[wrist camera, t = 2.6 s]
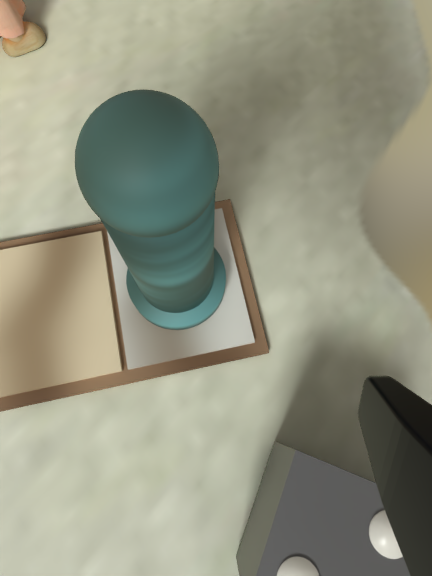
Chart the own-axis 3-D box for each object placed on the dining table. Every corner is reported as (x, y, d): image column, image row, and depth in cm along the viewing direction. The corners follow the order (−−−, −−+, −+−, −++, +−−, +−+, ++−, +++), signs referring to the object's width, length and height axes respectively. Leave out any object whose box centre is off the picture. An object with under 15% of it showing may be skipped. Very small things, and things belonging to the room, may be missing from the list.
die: (378, 485, 18) (438, 509, 14) (348, 607, 17) (402, 684, 12) (274, 441, 19) (296, 449, 14) (236, 556, 17) (245, 610, 13)
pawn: (244, 274, 21) (283, 102, 9) (186, 349, 20) (151, 256, 8) (170, 223, 22) (124, 8, 10) (110, 292, 20) (-17, 135, 9)
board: (229, 201, 23) (230, 196, 22) (268, 353, 20) (270, 351, 20) (-153, 273, 21) (-164, 269, 21) (-163, 447, 19) (-176, 448, 18)
